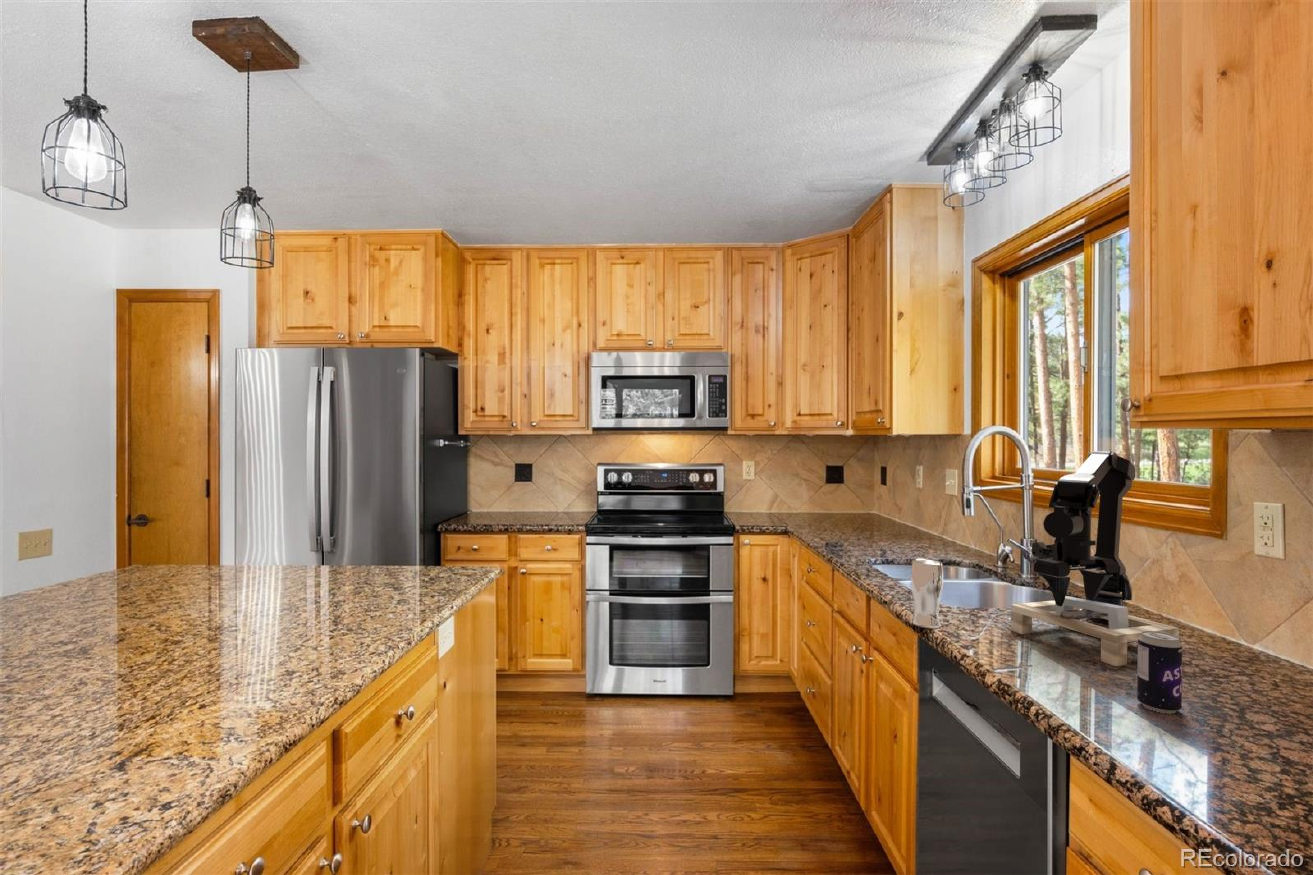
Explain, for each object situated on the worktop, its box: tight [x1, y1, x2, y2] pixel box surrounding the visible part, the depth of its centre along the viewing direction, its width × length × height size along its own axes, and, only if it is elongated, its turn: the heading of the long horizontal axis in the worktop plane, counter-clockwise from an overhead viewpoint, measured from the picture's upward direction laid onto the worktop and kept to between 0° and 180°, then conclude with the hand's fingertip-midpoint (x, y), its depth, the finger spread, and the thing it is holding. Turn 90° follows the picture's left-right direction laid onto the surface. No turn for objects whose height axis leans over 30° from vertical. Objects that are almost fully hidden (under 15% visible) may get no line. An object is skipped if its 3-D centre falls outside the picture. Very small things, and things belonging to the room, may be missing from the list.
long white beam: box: [1055, 595, 1130, 630], centre depth 136 cm, size 3×14×6 cm, turn 19°
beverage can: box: [1136, 631, 1183, 715], centre depth 103 cm, size 6×6×12 cm
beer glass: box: [910, 558, 944, 629], centre depth 148 cm, size 7×7×15 cm
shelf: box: [1010, 600, 1180, 667], centre depth 137 cm, size 18×24×6 cm
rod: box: [1060, 609, 1108, 620], centre depth 137 cm, size 15×2×2 cm, turn 109°
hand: (1074, 604), depth 140 cm, fingers open, 9 cm apart
